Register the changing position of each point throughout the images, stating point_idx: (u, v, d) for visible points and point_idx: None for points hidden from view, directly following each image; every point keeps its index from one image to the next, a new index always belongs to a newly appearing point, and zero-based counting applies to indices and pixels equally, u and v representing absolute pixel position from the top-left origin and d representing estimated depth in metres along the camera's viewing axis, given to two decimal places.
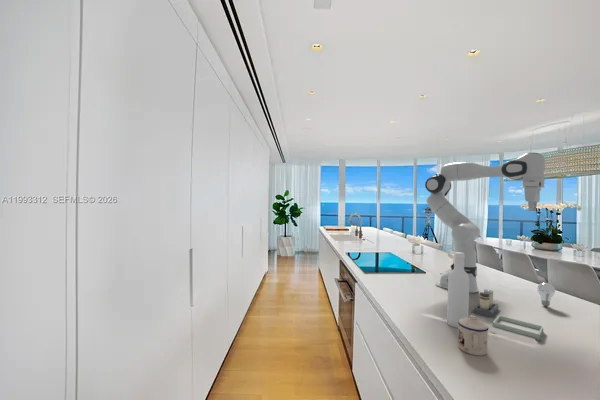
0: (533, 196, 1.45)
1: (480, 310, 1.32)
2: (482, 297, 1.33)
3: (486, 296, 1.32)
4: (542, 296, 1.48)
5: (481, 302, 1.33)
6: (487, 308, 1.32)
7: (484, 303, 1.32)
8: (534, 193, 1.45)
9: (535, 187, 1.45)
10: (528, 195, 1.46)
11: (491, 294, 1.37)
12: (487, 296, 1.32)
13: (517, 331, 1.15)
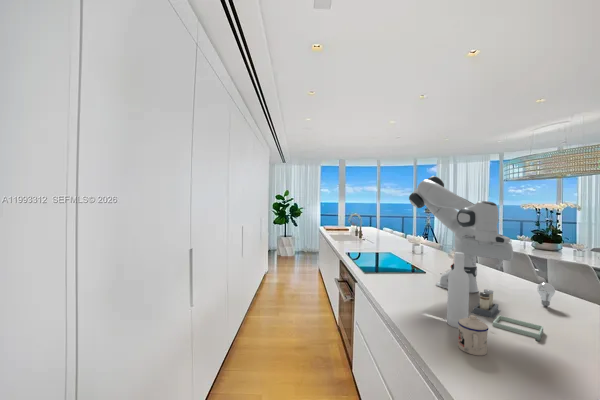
0: None
1: (480, 310, 1.32)
2: (482, 297, 1.33)
3: (486, 296, 1.32)
4: (542, 296, 1.48)
5: (481, 302, 1.33)
6: (487, 308, 1.32)
7: (484, 303, 1.32)
8: (512, 250, 1.28)
9: (509, 243, 1.29)
10: (512, 253, 1.26)
11: (491, 294, 1.37)
12: (487, 296, 1.32)
13: (517, 331, 1.15)
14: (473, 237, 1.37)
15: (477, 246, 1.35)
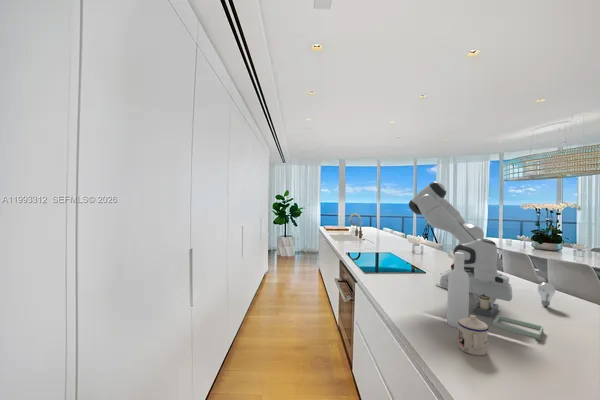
0: None
1: (480, 310, 1.32)
2: (482, 297, 1.33)
3: (486, 296, 1.32)
4: (542, 296, 1.48)
5: (481, 302, 1.33)
6: (487, 308, 1.32)
7: (484, 303, 1.32)
8: (511, 290, 1.28)
9: None
10: (511, 293, 1.27)
11: None
12: None
13: (517, 331, 1.15)
14: (472, 274, 1.37)
15: (476, 283, 1.35)
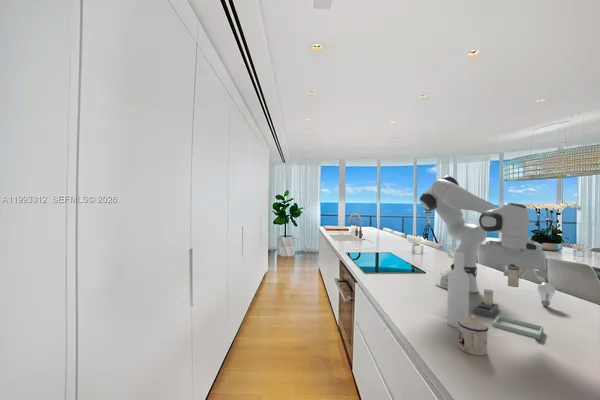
0: None
1: (480, 310, 1.32)
2: (511, 268, 1.19)
3: (515, 266, 1.18)
4: (542, 296, 1.48)
5: (510, 273, 1.19)
6: (517, 280, 1.18)
7: (513, 274, 1.18)
8: (545, 259, 1.14)
9: (542, 251, 1.15)
10: (545, 262, 1.12)
11: (491, 294, 1.37)
12: None
13: (517, 331, 1.15)
14: (499, 243, 1.23)
15: (503, 253, 1.21)
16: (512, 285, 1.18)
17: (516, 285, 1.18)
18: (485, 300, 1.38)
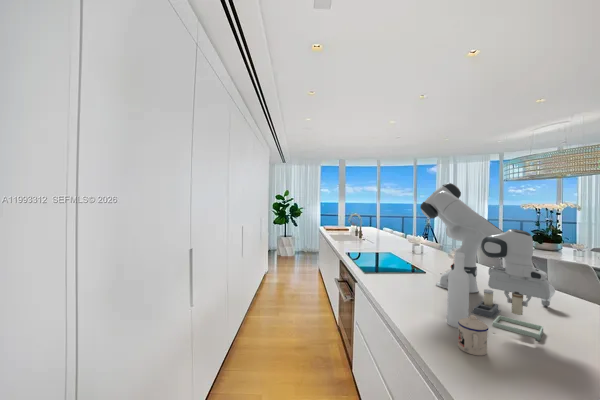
0: (550, 292, 1.13)
1: (480, 310, 1.32)
2: (515, 295, 1.18)
3: (520, 294, 1.17)
4: None
5: (514, 301, 1.19)
6: (521, 307, 1.17)
7: (517, 302, 1.18)
8: None
9: (546, 279, 1.14)
10: (549, 291, 1.12)
11: (491, 294, 1.37)
12: (521, 294, 1.17)
13: (517, 331, 1.15)
14: (503, 269, 1.22)
15: (507, 280, 1.20)
16: (516, 313, 1.18)
17: (520, 313, 1.17)
18: (485, 300, 1.38)
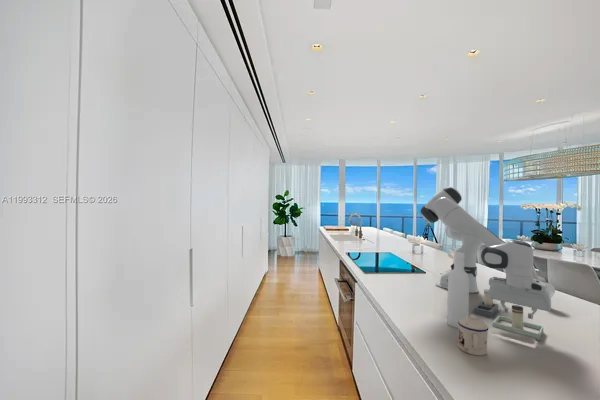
0: None
1: (480, 310, 1.32)
2: (515, 311, 1.18)
3: (519, 309, 1.18)
4: None
5: (514, 317, 1.19)
6: (521, 323, 1.17)
7: (517, 317, 1.18)
8: (550, 299, 1.13)
9: None
10: (550, 302, 1.12)
11: None
12: (521, 309, 1.18)
13: (517, 331, 1.15)
14: (503, 280, 1.22)
15: (508, 291, 1.20)
16: None
17: None
18: (485, 300, 1.38)
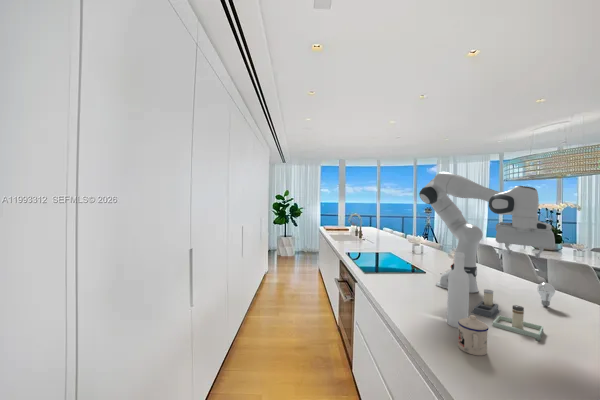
0: None
1: (480, 310, 1.32)
2: (516, 311, 1.18)
3: (520, 310, 1.17)
4: (542, 296, 1.48)
5: (514, 317, 1.19)
6: (521, 323, 1.17)
7: (518, 318, 1.18)
8: None
9: None
10: (554, 240, 1.19)
11: (491, 294, 1.37)
12: (521, 310, 1.17)
13: (517, 331, 1.15)
14: (510, 224, 1.29)
15: (514, 233, 1.27)
16: None
17: None
18: (485, 300, 1.38)
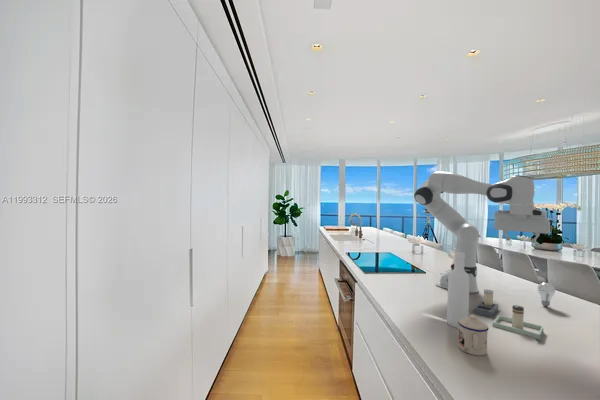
0: None
1: (480, 310, 1.32)
2: (516, 311, 1.18)
3: (520, 310, 1.17)
4: (542, 296, 1.48)
5: (514, 317, 1.19)
6: (521, 323, 1.17)
7: (518, 318, 1.18)
8: (549, 224, 1.28)
9: None
10: (549, 226, 1.26)
11: (491, 294, 1.37)
12: (521, 310, 1.17)
13: (517, 331, 1.15)
14: (507, 212, 1.37)
15: (511, 220, 1.35)
16: None
17: None
18: (485, 300, 1.38)
